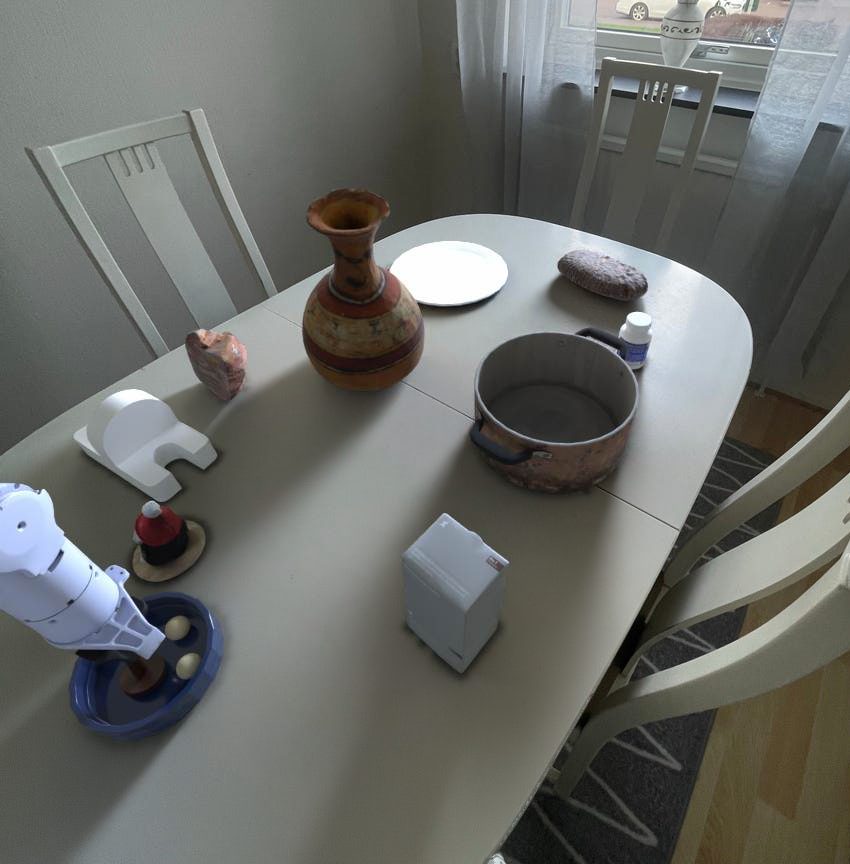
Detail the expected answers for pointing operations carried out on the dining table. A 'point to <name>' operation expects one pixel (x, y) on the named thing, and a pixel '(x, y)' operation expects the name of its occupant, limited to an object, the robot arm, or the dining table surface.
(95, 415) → the tape dispenser
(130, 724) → the bowl
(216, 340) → the stone
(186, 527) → the figurine
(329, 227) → the ceramic pitcher
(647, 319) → the pill bottle
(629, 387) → the saucepan
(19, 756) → the dining table surface
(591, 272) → the decorative stone
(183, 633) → the dumpling
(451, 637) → the cosmetic box
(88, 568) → the robot arm
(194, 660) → the dumpling
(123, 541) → the dining table surface
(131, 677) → the brown plunger
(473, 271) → the plate
